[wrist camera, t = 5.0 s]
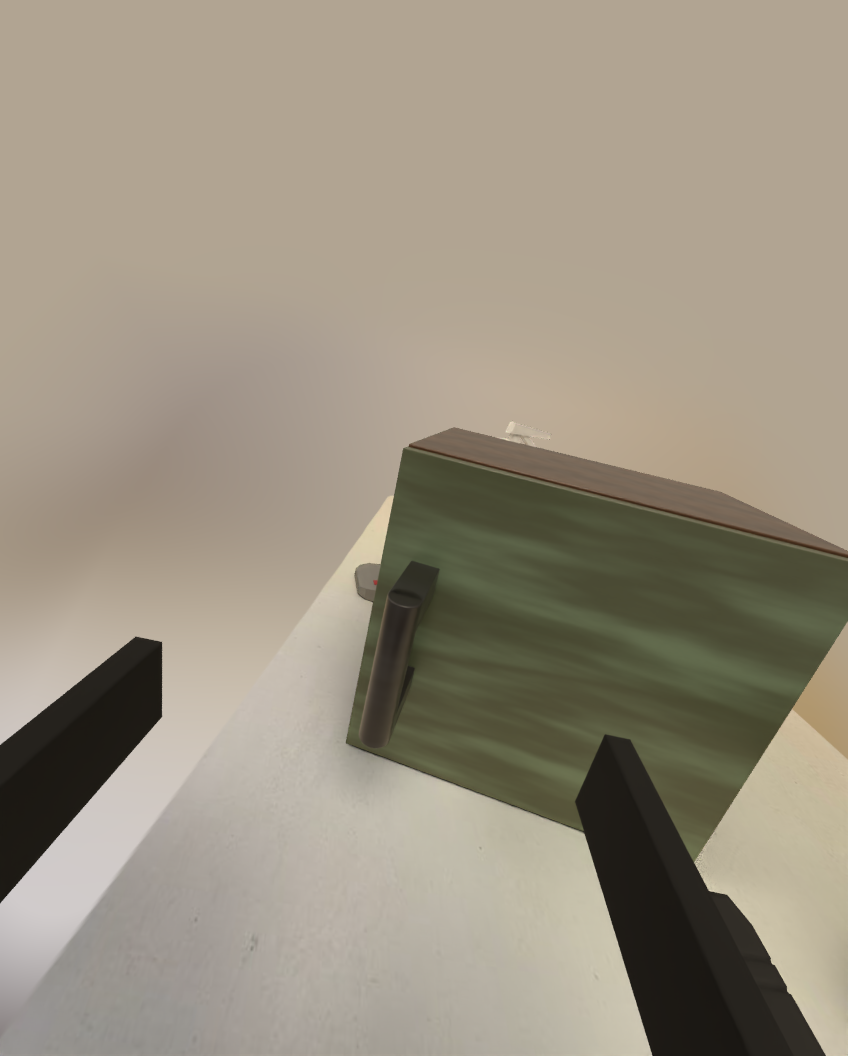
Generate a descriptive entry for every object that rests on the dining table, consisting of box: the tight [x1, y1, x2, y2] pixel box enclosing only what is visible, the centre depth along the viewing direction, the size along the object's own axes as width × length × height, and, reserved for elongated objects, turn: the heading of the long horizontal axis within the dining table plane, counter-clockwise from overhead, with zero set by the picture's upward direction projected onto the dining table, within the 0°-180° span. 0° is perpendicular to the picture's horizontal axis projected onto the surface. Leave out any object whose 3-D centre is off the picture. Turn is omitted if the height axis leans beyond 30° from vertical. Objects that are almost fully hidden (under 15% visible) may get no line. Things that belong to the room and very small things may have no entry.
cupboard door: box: [346, 447, 848, 862], centre depth 25 cm, size 7×26×24 cm, turn 77°
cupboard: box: [409, 428, 848, 558], centre depth 37 cm, size 18×26×24 cm
